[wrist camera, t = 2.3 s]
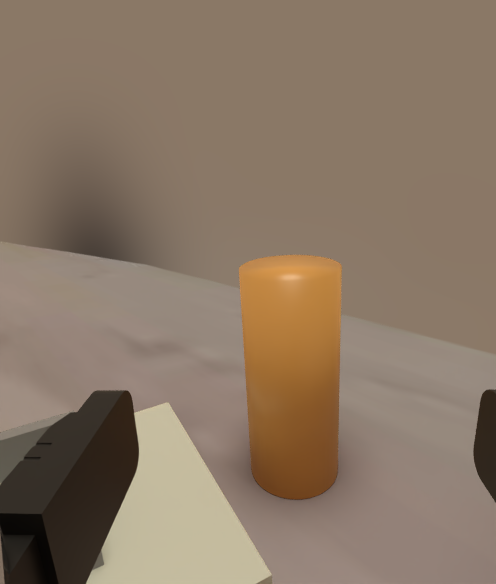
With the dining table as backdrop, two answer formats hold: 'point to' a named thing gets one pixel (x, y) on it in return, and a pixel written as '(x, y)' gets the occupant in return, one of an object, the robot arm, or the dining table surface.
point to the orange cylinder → (292, 371)
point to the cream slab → (162, 512)
